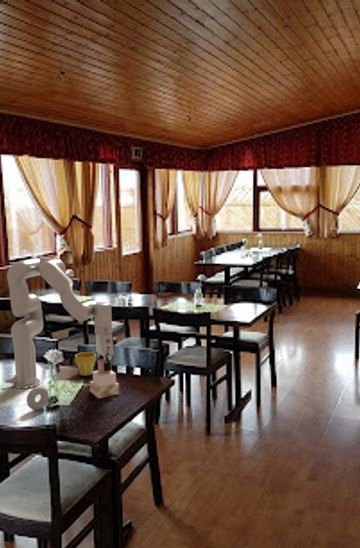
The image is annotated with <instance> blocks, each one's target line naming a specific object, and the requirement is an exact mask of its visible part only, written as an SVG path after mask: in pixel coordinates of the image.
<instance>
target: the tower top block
mask: <svg viewBox="0 0 360 548" xmlns="http://www.w3.org/2000/svg"><path fill="white" fill-rule="evenodd" d="M116 374H117V373H116V372H114V371H113V370H112V369H111V371H109V372H99V371H98V370H93V374H92V381H93V382H94V383H95V384H96V385H97V386H99V387H103V386H108V385H113V384H116V382H117V375H116Z"/></svg>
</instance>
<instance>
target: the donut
mask: <svg viewBox="0 0 360 548" xmlns="http://www.w3.org/2000/svg"><path fill="white" fill-rule="evenodd" d="M38 395H40V398H39V400H38V401H36V397H37V396H38ZM49 398H50V393H49V391H48V389H47V388H45V387H44V386H39V385H38V386H35V387H32V389H31V390H30V391H29V392H28V394H27V396H26V403H27V406H28V407H29V409H31V410H32V411H33V410H34V411H40V410H42V409H43V408H44V407H45V406H46V405H47V404H48V402H49Z"/></svg>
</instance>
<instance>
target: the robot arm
mask: <svg viewBox="0 0 360 548" xmlns="http://www.w3.org/2000/svg"><path fill="white" fill-rule="evenodd" d="M65 272H66V264H65V262H63V261H62V260H61V259H60V258H44V257H35V258H33V257H32V258H28V259H23V260H19V261H16V262H15V263H12V265H11V266H9V268H8V270H7V274H6V278H7V283H8V288H9V289H8V290H9V300H10V307H11V308H10V309H11V311H12V314H13V315H14V316H15V317H17V318H21V319H19V320H17V321H15V322H14V323H13V324H12V326H11V328H10V335H11V338H12V341H13V342H12V343H13V352H14V371H15V374H14V375H13V377H12V378H5V383H6V384H12V386H13V387H14V386H15V387H19V388H18V389H25V388H24V387H31V386H35V385H37V384H39V383H40V384H41V380H40V379H39V378H37V361H36V360H37V359H36V346H35V343H34V340H33V337H35V336H36V335H38V334H40V333H41V332H42V330H43V329H44V317H43V309H42V302H41V300H40V298H39V297H38V296H37V295H36V294H34V293H29V286H28V283H27V281H26V279H29V278H34V277H37V276H38V277H39V276H41V277H42V278H43V279H44V280H45V281H46V283H47V284H48V285H49V286H50V287H52V289H53V290H55V292H56V293H57V294H58V296H59V300H60V302H61V305H62V306H63V308H64V309H65V310H66V311H67V312H68V313H69V314H70V315H71V317H72V318H74V319H75V320H77V321H79V322H85V321H87V320H88V319H91V318H93V317H94V333H95V350H96V353H97V354H96V355H97V361H98V360H100V359H104V361H105V362H104V371H110V370H112V358H113V356H114V351H115V350H114V341H113V335H112V333H113V321H112V318H113V317H112V305H111V303H110V302H106V301H101V302H99V301H95V300H87V301H84V302H82V303H81V302H80V301H79V299H78V298H77V297H76V296H75V294H74V293H73V286H74V282H73V279H71V278H70V277H69V276H68V275H67V274H66V273H65ZM23 317H24V318H23ZM40 384H39V385H40ZM37 386H38V385H37ZM15 387H14V388H15ZM35 387H36V386H35ZM31 388H32V387H31Z"/></svg>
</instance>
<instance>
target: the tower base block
mask: <svg viewBox="0 0 360 548" xmlns="http://www.w3.org/2000/svg"><path fill="white" fill-rule="evenodd" d="M89 392H90V393H91V394H92V395H94V396H95V397H96V398H97V399H102V398H107V397H110V396H116V395H119V394H120V383H118V381H116V384H113V385H108V386H103V387H99V386H97V385H96V384H95V383H94V382H93V380H92V381H91V380H90V381H89Z"/></svg>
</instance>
